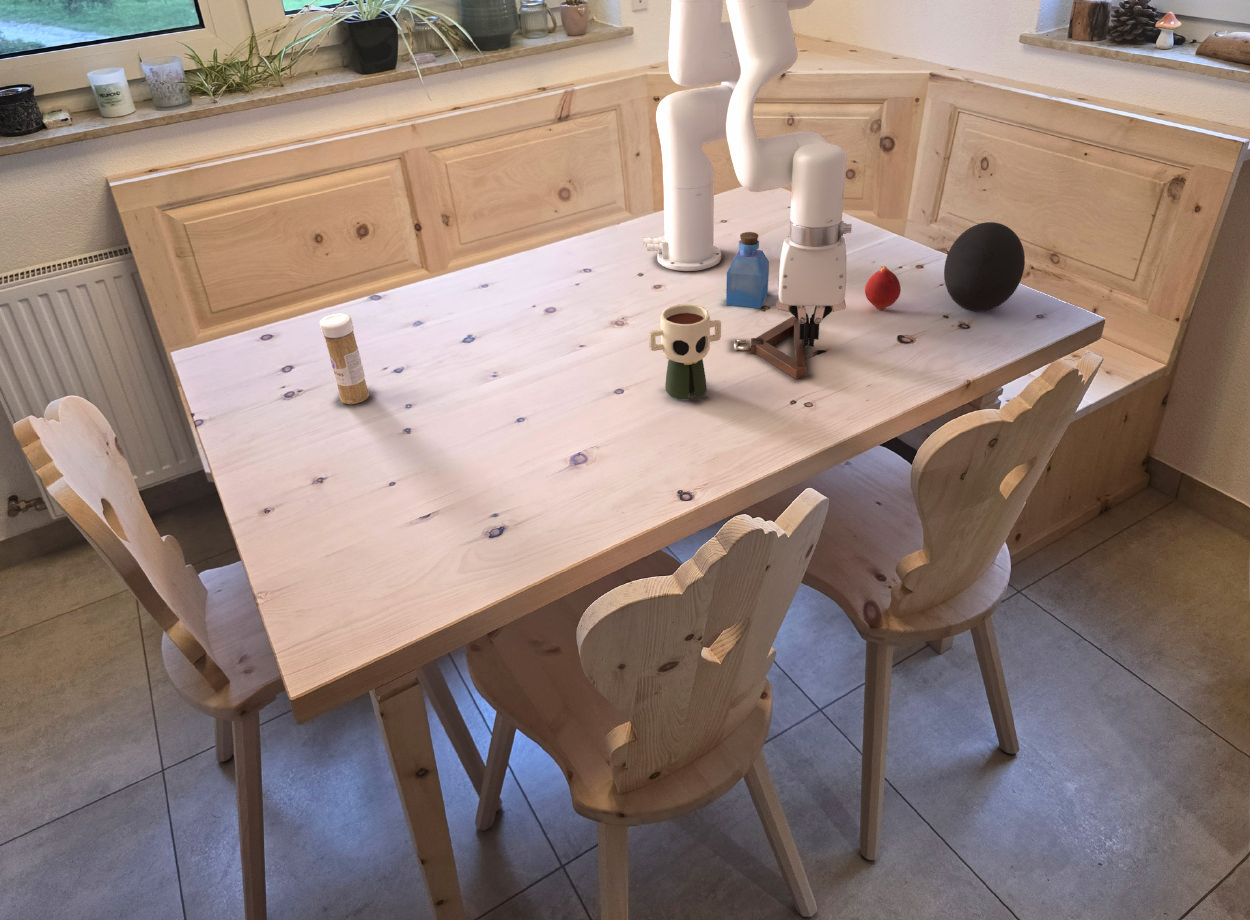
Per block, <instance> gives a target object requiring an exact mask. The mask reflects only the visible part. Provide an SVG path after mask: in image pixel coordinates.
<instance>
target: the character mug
mask: <svg viewBox="0 0 1250 920" xmlns="http://www.w3.org/2000/svg"><path fill="white" fill-rule="evenodd" d="M711 328H714V334H711ZM656 337H660V343H656V340H657V339H656ZM721 337H722V321H721V320H719V319H713V320H711V316H710V312H709V310H708V309H707V308H705V307H704V306H701V305H699V304H694V303H679V304H674V305H670V306H667V307H666V308H665V309H663V310H662V312H661V313H660V328H657V329H652V330H649V333H648V344H649V345H648V346H649V347H648V348H649V350H650V351H652V352H656V351H661V352H662V354H663V356H664V357H665V358H666V359H667V360H668V361H667V367H666V374H665V383H664V384H665V387H664V388H665V392H666V393H667V394H668V395H669V397H671V398H674V399H676V400H683V401H684V400H685V401H688V400H690V394H693V393H694V399H698V398H700V397H702V396H704V395H705V393H706V392H707V390H708V389H707V378H706V377H707V376H706V372H705V365H704V364H705V363H704V358H706V356H707V354H708V353H709V351H710V348H711V347H710V346H711V343H713V342H717V341H720V340H721Z"/></svg>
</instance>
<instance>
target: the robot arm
mask: <svg viewBox="0 0 1250 920" xmlns="http://www.w3.org/2000/svg"><path fill="white" fill-rule="evenodd" d="M814 1H815V0H725V4H726V8H727V12H728V17H729V18H728V19H729V21H722V18H723V17H722V16H723V8H724V0H671V9H670V21H669V22H670V23H669V41H668V71H669V76H670V79H671V80H672V81H673V82H674V84H677V85H679V86H681V87H696V88H691V89H684V90H679V91H675V92H672V93H670V94H668V95H666V96H665V97H663V99H662V100H660V102H659V104H658V106H657V108H656V113H655V117H656V118H655V119H656V120H655V121H656V126H657V132H658V138H659V142H660V149H661V159H662V182H663V216H664V218H663V219H664V233H663V235H659V236H658V237H643V238H642V248H646V250H647V252H657V263H659V264H660V265H661V266H662V267H664V268H666V269H670V270H674V271H678V272H679V271H680V272H695V271H703V270H707V269H710V268H712V267H715V266H717V264H719V263H720V261H721V260H722V251H721V249H720V248H719V247H716V246H715V245H714V236H715V235H714V232H715V231H714V230H715V229H714V228H715V227H714V223H715V222H714V220H715V217H714V216H715V214H714V213H715V211H714V210H715V208H714V207H715V170H714V165H713V163H712V161H711V159H710V158H709V157H708V155H707V154H705V152H704V150H703V146H704V145H708V144H711V143H717V142H722V141H723V142H724V141H726V142H727V145H728V149H729V153H730V154H729V155H730V159H731V161H732V166H733V170H734V173H735V176H736V178H737V180H738V182H739V184H740V185H741V186H742V187H743V188H744V189H745V190H746V191H749V192H752V193H763V192H767V191H773V190H777V189H782V188H787V187H791V195H790V214H789V215H790V217H789V235H788V236H786V237H784V239H783V244H782V248H781V252H780V260H779V269H778V283H777V287H778V289H777V291H778V296H777V299H776V303H775V308H776V309H777V310H778V311H783V312H786V313H787V312H789V313H790V314H791V315H792V316H794V317H796V318H797V319H798V320H799V323H800V330H799V339H802V341H803V348H805V347H806V348H807V347H808V346H809V347H812V348H814V347H815V340H816V341H817V340H819V338H820V337H819V336H820V335H819V334H820V324H821V323H822V321H823V320H824V319H825V318H826V317H828V316H829V315H830V314H831V313H833V312H834V313H836V312H839V311H844V310H846V308H847V305H846V291H847V267H848V266H847V244H846V239H845V237H844V235H846V234H851V233H852V223H847V222H844V220H843V211H844V202H845V201H844V200H845V186H846V174H847V161H848V159H847V153H846V151H845V149H843V147H841V146H840V145H838V144H835V143H834V144H833V143H828V141H827V140H825V138H824V137H823V136H822V135H820V134H819V133H817V132H815V131H812V130H802V131H796V132H791V133H790V132H789V133H784V134H778V135H772V136H766V137H760V138H758V136H757V131H756V125H755V121H754V119H755V118H754V108H755V103H756V100H757V97H758V95H759V93H760V91H761V90H762V89H763V87H764V86H766V85H767V84H769V83H770V82H772V81H774V80H775V79H776V78H778V77H780V76H782V75H783V74H784V73H786V72H788V71H789V70H790V69H791V68H792V66H794V65H795V64H796V62H797V59H798V48H797V44H796V39H795V34H794V29H793V26H792V20H791V17H790V12H789V11H794V10H801V9H806V8H807V7H809V6H810V5H812V4H813V3H814ZM713 84H718V85H713ZM707 85H713V86H707ZM700 86H706V87H700ZM697 87H698V88H697ZM806 307H814V309H813V313H812V314H811V316H810V317H809V314H808V313H807V310H806V309H807V308H806Z"/></svg>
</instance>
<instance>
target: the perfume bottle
mask: <svg viewBox="0 0 1250 920" xmlns="http://www.w3.org/2000/svg"><path fill="white" fill-rule="evenodd" d="M739 237H740V238H739V239H740V240H739V241H738V251H737V253H736V254H735V256H734V258H733V259H732V262H731V264H730V265H729V267H728V269H727V271H726V291H725V292H726V295H725V296H726V297H725V305H726V306H731V307H742V308H750V309H751V308H752V309H762V306H763V304H764V303H765V301H766V299H767V296H768V295H769V277H770V276H769V275H770V274H769V273H770V260H769V259H768V257H767V256H766V254H765V253H764V250H762V249H759V248H760V240H758V239H759V234H758V232H753V231H745V232H742V233H740V235H739Z"/></svg>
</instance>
